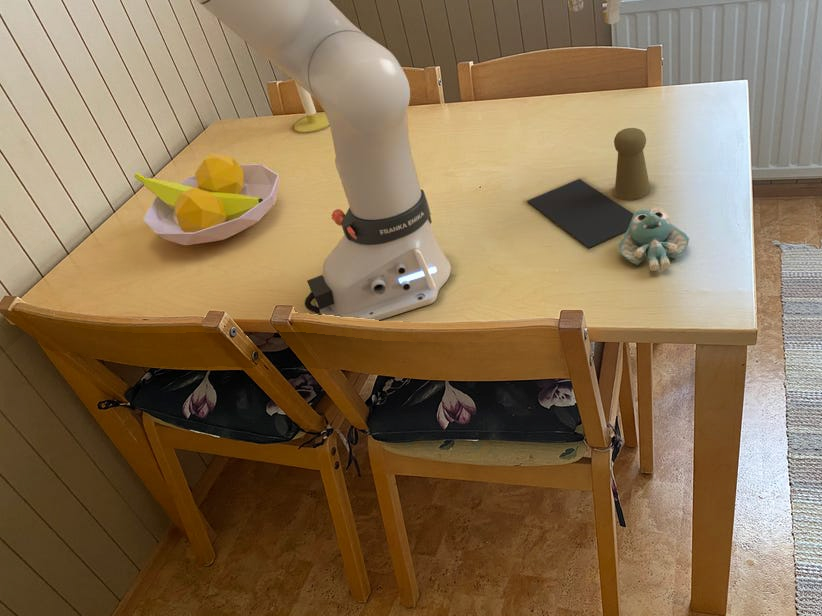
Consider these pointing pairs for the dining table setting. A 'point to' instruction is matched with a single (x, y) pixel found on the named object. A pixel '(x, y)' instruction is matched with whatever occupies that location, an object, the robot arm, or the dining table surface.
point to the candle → (309, 114)
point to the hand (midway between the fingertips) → (593, 15)
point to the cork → (631, 165)
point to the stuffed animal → (652, 239)
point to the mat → (584, 212)
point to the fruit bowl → (211, 201)
